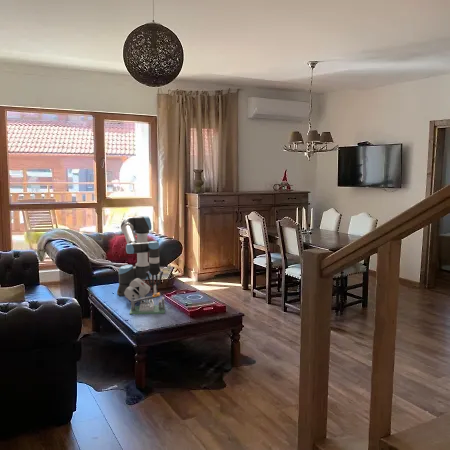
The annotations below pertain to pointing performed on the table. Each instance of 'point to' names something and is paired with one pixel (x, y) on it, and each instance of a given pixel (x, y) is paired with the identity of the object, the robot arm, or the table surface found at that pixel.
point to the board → (156, 311)
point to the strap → (147, 297)
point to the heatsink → (147, 306)
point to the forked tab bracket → (132, 304)
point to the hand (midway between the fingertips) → (155, 293)
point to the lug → (161, 304)
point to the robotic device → (137, 290)
